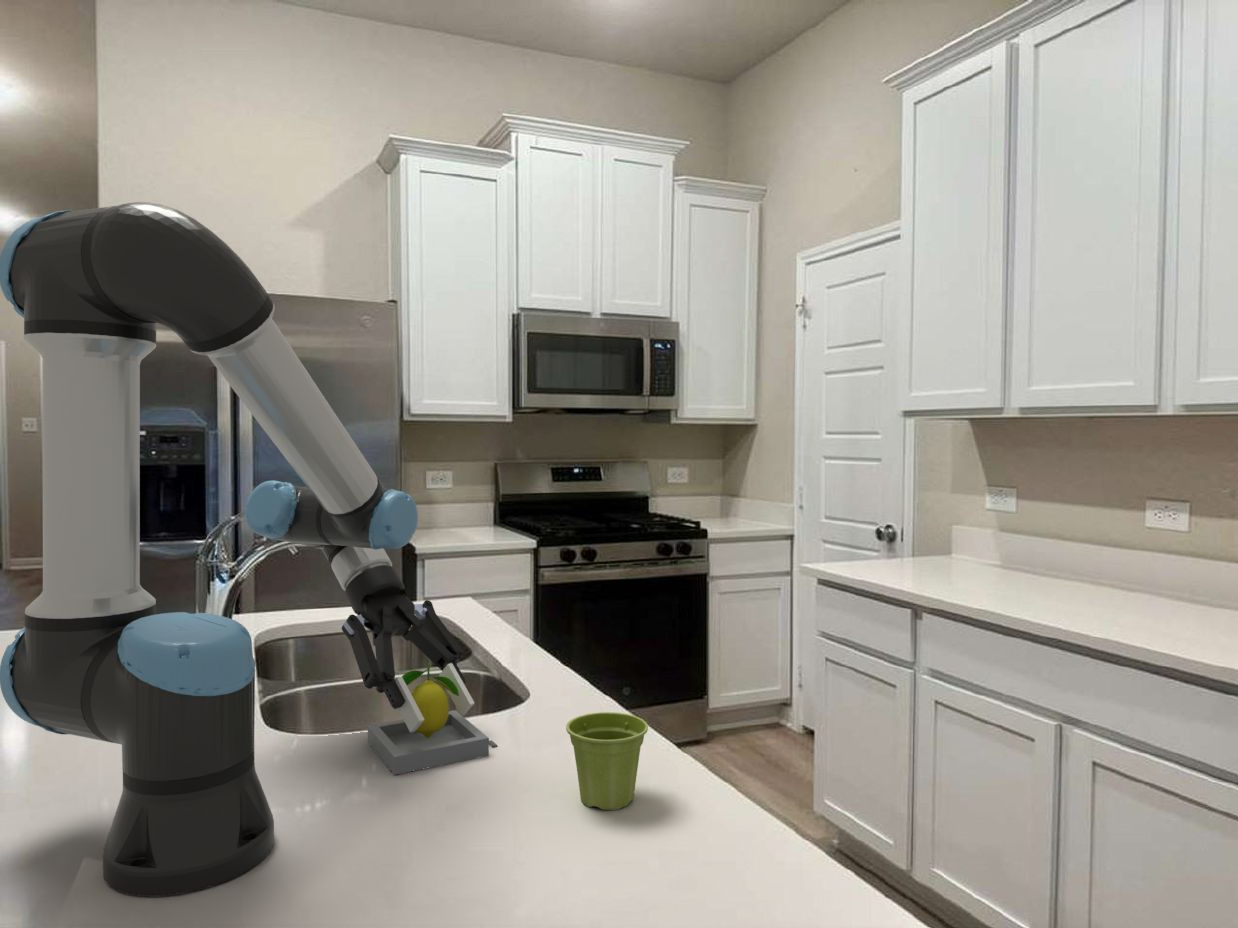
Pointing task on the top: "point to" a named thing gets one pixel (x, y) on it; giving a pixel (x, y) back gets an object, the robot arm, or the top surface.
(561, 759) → the top surface
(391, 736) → the dish
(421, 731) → the lemon
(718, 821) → the top surface
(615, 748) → the plant pot
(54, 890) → the top surface
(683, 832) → the top surface
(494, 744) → the perforation strip
